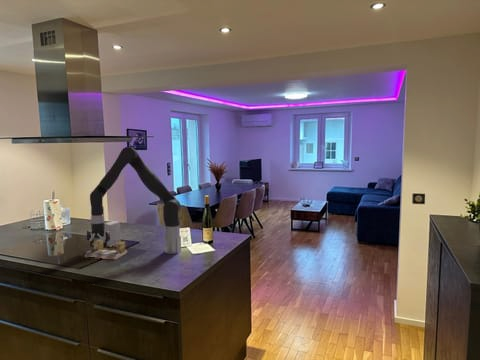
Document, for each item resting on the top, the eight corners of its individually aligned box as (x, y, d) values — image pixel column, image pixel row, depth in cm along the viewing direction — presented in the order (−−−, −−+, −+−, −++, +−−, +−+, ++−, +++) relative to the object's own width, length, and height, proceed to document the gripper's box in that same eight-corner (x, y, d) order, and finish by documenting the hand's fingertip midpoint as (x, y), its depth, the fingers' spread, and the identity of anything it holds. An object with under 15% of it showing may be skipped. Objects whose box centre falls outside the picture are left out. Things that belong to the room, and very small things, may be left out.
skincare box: (114, 242, 217) (114, 220, 215) (121, 244, 213) (120, 221, 212) (104, 245, 209) (103, 223, 208) (110, 247, 206) (109, 224, 204)
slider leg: (103, 249, 197) (103, 239, 197) (95, 253, 189) (94, 243, 189) (99, 248, 198) (98, 239, 197) (90, 253, 190) (90, 243, 189)
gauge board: (127, 252, 197) (126, 240, 196) (115, 259, 184) (115, 247, 184) (98, 250, 201) (97, 238, 200) (84, 257, 188) (84, 245, 187)
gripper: (111, 221, 196) (112, 246, 198) (91, 219, 198) (92, 244, 200) (104, 223, 188) (105, 250, 190) (83, 222, 191) (84, 248, 193)
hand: (98, 247), depth 195 cm, fingers open, 8 cm apart
